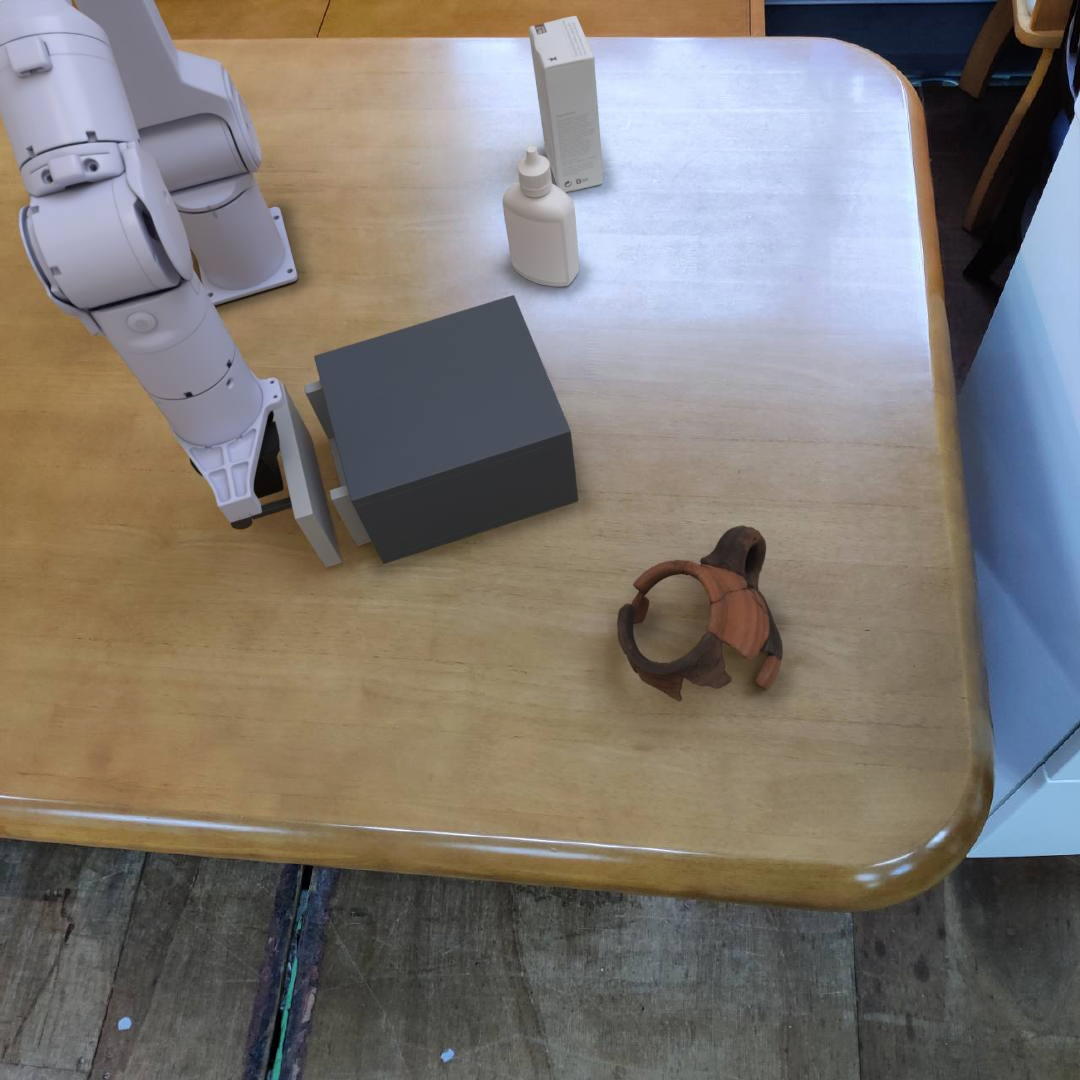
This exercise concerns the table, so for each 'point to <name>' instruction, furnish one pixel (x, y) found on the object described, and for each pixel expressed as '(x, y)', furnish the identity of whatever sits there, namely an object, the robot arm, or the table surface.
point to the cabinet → (447, 429)
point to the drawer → (310, 480)
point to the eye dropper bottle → (541, 225)
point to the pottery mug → (711, 617)
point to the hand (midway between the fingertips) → (268, 487)
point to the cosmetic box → (567, 102)
